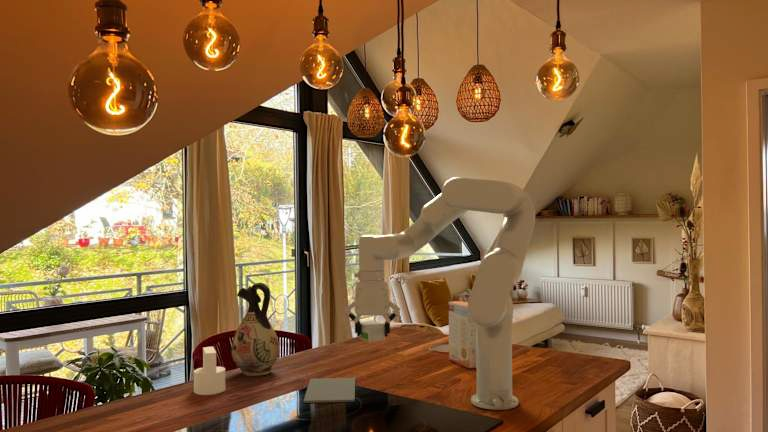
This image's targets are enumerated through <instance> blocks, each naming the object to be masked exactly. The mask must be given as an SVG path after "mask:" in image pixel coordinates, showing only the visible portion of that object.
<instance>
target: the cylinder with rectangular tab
mask: <svg viewBox="0 0 768 432" xmlns="http://www.w3.org/2000/svg"><path fill="white" fill-rule="evenodd" d="M225 391H226V368H225V367H224V366H217V352H216V349H215V347H214V346H205V347H202V367H198V368H196V369H194V370H193V393H194V394H196V395H200V396H211V395H217V394H221V393H222V392H225Z"/></svg>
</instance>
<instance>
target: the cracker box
mask: <svg viewBox="0 0 768 432" xmlns="http://www.w3.org/2000/svg"><path fill="white" fill-rule="evenodd" d="M476 331H477V325H476V324H475V323H474V322H473V321H472V320H471V318H470V316H469V314H468V301H463V300H454V301H453V300H452V301H448V360H449V361H450V362H454V363H456V364H458V365H460V366H462V367H464V368H467V369H476Z"/></svg>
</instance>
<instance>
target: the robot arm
mask: <svg viewBox="0 0 768 432" xmlns="http://www.w3.org/2000/svg"><path fill="white" fill-rule="evenodd" d="M469 211H471V212H481V213H487V214H488V213H489V214H499V215H502V216H503V220H502V223H501V226H500V228H499V231H498V235H497V238H496V241H495V245H494V247H493V250H492V251H490V252H489V253H487V254H486V255H485V256H484V257H483V258H482V260H481V261H480V263H479V266H478V268H477V272H476V275H475V278H474V282H473V285H472V288H471V291H470V295H469V296H468V297H469V298H468V301H467V302H468V314H469V316H470V318H471V320H472V321H473V322H474V323H475V324H476V325H477V331H476V368H475V369H476V393H475V394H473V395H472V396H471V398H470V402H471V404H472V405H474V406H475V407H477V408H480V409H485V410H493V411H503V410H504V411H505V410H511V409H513V408H516V407H518V406H519V399H518V397H516V396H515V395H513V319H514V318H513V317H514V302H513V298H512V296H511V294H510V293H511V291H512V287H513V285H514V282H516V281H517V280H518V279H519V277H520V276H521V275H522V271H523V266H524V263H525V260H526V257H527V253H528V249H529V246H530V242H531V239H532V235H533V232H534V228H535V222H536V209H535V206H534V203H533V201H532V199H531V198H530V196H529V195H528V193H527V192H526V191H525V190H523V188H521V187H520V186H518V185H517V184H515V183H512V182H507V181H503V180H493V179H481V178H480V179H479V178H473V177H472V178H470V177H462V176H454V177H451V178H450V179H448V180H446V181H445V183H444V184H443V185H442V188H441V191H440V193H439V194H438V195H437V196H435V197H434V198H433V199H431V200H429V201H428V202H427V203H426V204H424V205H423V206H422V208H421V210H420V215H419V217H418V218H417V219H416V220H415V221H414V223H412V224H411V225H410V226H408V227H407V228H406V229H404V230H403V231H401V232H400V233H392V234H385V235H384V234H383V235H380V234H363V235H360V237H359V238H358V272H357V271H356V272H354V274H353V275H354V277H353V278H358V280H356V283H355V290H354V291H355V292H354V301H352V302H351V303H350V304H349V305H348V306H346V307H345V308H344V312H345V314H346V315H347V316H348V317H349V318H350V320H351V321H353V323H354V333H355V334H356V337H358V338H360V323H361V321H360V318H361V317H362V316H380V317H381V316H382V317H383V318H384V320H385V321H384V324H385V338H386V337H388V336H389V335H388V334H390V333H391V322H392V321H393V320H394V319H395V318H396V317H397V315H398V314H399V313H400V311H401V308H400V307H399V306H398V305H396V303H393V301H392V300H390V293H389V285H388V281H387V280H385V260H386V261H398V260H402V259H406V258H409V257H411V256H412V255H414V254H416V253H418V251H420V249H422V248H424V247H425V246H427V244H429V243H430V242H432V240H433V239H434V238H435V237H436V236H438V235H439V234H440V232H442V231H443V230H444V229H445V228H446V227H448V226H449V225H451V224H452V223H453V222H455V221H456V220H457V219H458V218H460V217H462V216H463V215H464V214H466V213H467V212H469ZM353 308H354V313H353V312H352V311H351V310H352V309H353ZM390 308H391V309H393V312H392V313H391V314H389V312H390ZM355 314H356V315H355Z"/></svg>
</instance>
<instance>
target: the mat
mask: <svg viewBox="0 0 768 432" xmlns="http://www.w3.org/2000/svg"><path fill="white" fill-rule="evenodd" d="M355 390H356V377H333V378H332V377H331V378H330V377H329V378H328V377H325V378H323V377H322V378H320V377H319V378H310V379H309V381H308V384H307V389H306V391H305V395H304V398H303V403H304V404H306V403H307V404H308V403H311V404H312V403H316V404H317V403H353V402H354V403H355V399H356V391H355Z"/></svg>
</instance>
